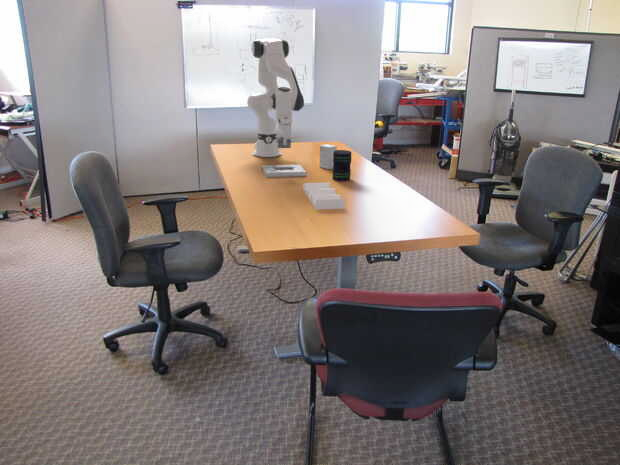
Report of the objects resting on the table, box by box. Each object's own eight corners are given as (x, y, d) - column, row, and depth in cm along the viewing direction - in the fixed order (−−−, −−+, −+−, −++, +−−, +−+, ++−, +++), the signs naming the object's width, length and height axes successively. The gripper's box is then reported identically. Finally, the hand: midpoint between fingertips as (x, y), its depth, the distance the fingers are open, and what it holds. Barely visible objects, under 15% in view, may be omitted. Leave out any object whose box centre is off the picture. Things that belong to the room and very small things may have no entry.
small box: (336, 168, 302) (337, 146, 297) (328, 169, 298) (328, 147, 293) (327, 165, 308) (327, 143, 303) (319, 166, 304) (319, 145, 299)
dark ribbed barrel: (351, 177, 282) (353, 150, 276) (348, 182, 273) (349, 154, 267) (334, 176, 284) (335, 149, 279) (330, 180, 275) (331, 152, 270)
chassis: (262, 169, 294) (262, 165, 293) (299, 168, 298) (299, 164, 297) (266, 177, 278) (266, 172, 277) (305, 176, 282) (305, 171, 281)
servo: (274, 146, 284) (274, 136, 282) (291, 146, 286) (291, 136, 284) (275, 148, 280) (275, 137, 278) (292, 147, 282) (293, 137, 280)
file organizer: (327, 188, 262) (327, 179, 260) (344, 210, 230) (344, 199, 228) (302, 189, 260) (302, 179, 258) (315, 210, 228) (316, 199, 226)
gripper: (275, 115, 286) (275, 140, 291) (281, 121, 268) (281, 147, 272) (286, 115, 288) (286, 140, 292) (292, 121, 269) (292, 147, 274)
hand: (283, 143), depth 282 cm, fingers closed on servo, 4 cm apart
